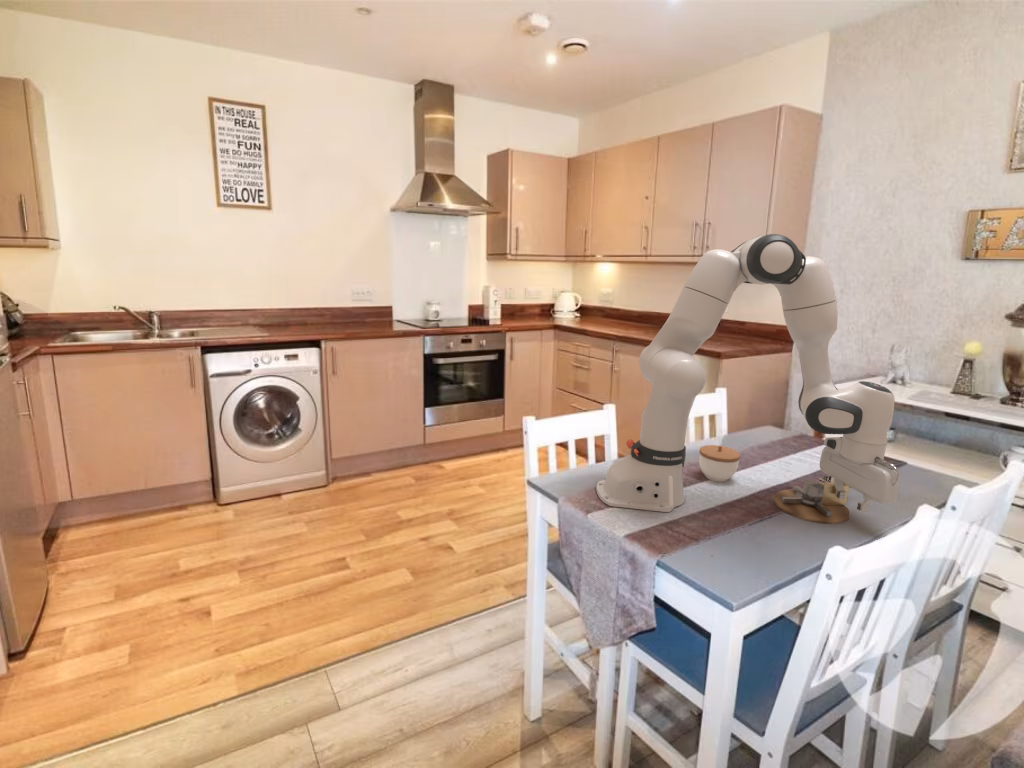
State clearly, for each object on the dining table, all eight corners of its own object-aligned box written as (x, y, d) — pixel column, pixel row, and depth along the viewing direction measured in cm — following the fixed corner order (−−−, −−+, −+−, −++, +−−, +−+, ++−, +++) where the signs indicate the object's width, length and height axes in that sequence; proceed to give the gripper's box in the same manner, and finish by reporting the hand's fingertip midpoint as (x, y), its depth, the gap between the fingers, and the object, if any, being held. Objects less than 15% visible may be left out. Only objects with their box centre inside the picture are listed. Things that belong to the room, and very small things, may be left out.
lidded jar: (740, 476, 157) (744, 445, 155) (731, 488, 148) (736, 456, 146) (702, 466, 163) (706, 437, 160) (691, 478, 154) (695, 446, 152)
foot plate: (794, 523, 130) (795, 519, 130) (761, 492, 147) (761, 488, 146) (864, 524, 131) (865, 520, 130) (823, 493, 147) (824, 490, 147)
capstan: (863, 517, 132) (869, 491, 130) (799, 516, 131) (803, 490, 129) (826, 490, 146) (830, 466, 144) (767, 489, 145) (771, 465, 143)
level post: (837, 498, 144) (846, 456, 141) (828, 492, 148) (836, 450, 145) (848, 499, 144) (857, 456, 142) (839, 492, 148) (847, 450, 145)
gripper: (912, 467, 120) (898, 524, 123) (841, 435, 140) (831, 486, 143) (887, 467, 119) (874, 525, 122) (819, 436, 138) (810, 486, 142)
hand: (850, 504), depth 133 cm, fingers open, 5 cm apart
